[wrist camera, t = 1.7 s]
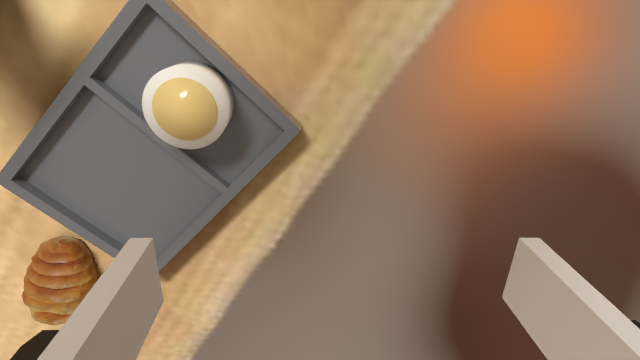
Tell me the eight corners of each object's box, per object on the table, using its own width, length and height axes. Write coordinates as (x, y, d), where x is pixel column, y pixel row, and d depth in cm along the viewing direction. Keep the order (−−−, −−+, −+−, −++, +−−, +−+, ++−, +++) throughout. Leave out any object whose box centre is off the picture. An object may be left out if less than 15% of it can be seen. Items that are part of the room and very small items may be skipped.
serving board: (11, 170, 34) (-31, 194, 30) (153, -17, 29) (127, -22, 25) (157, 267, 40) (139, 299, 35) (300, 123, 34) (301, 140, 30)
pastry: (34, 225, 37) (7, 247, 34) (105, 238, 38) (86, 260, 35) (37, 298, 41) (13, 324, 37) (102, 307, 42) (85, 334, 38)
